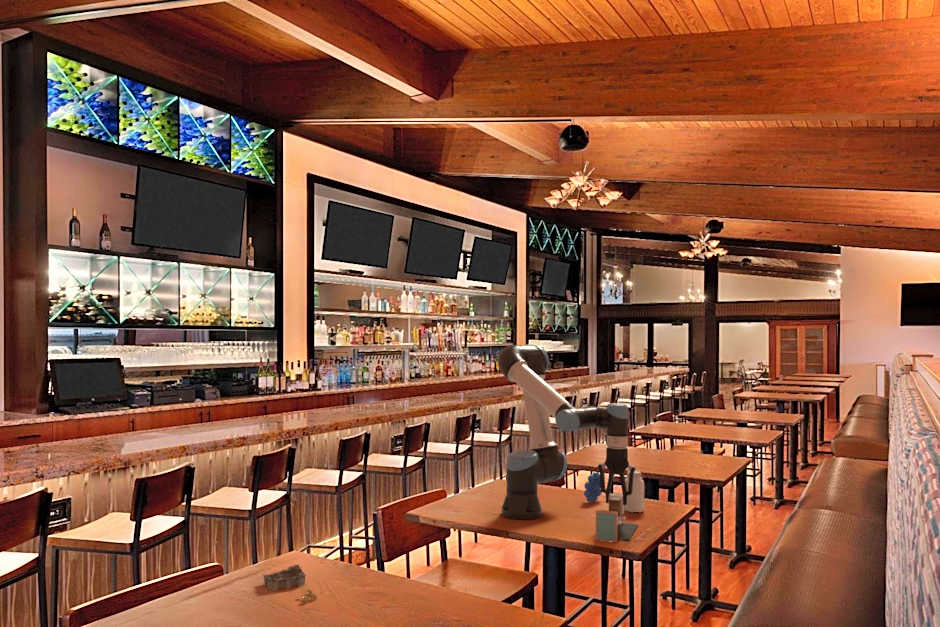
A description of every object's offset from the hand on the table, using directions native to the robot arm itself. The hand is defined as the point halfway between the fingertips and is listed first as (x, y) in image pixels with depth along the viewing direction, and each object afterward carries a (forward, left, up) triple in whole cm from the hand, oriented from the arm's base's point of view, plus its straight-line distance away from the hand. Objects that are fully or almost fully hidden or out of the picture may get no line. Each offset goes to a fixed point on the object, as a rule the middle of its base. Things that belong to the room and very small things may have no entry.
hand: (616, 513), depth 266 cm
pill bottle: (+2, +27, -5) cm, 27 cm away
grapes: (-16, +35, -5) cm, 39 cm away
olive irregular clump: (-62, -102, -6) cm, 119 cm away
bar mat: (+2, -5, -5) cm, 8 cm away
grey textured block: (-73, -95, -6) cm, 120 cm away
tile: (0, -18, -5) cm, 19 cm away
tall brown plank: (0, -3, 0) cm, 3 cm away
